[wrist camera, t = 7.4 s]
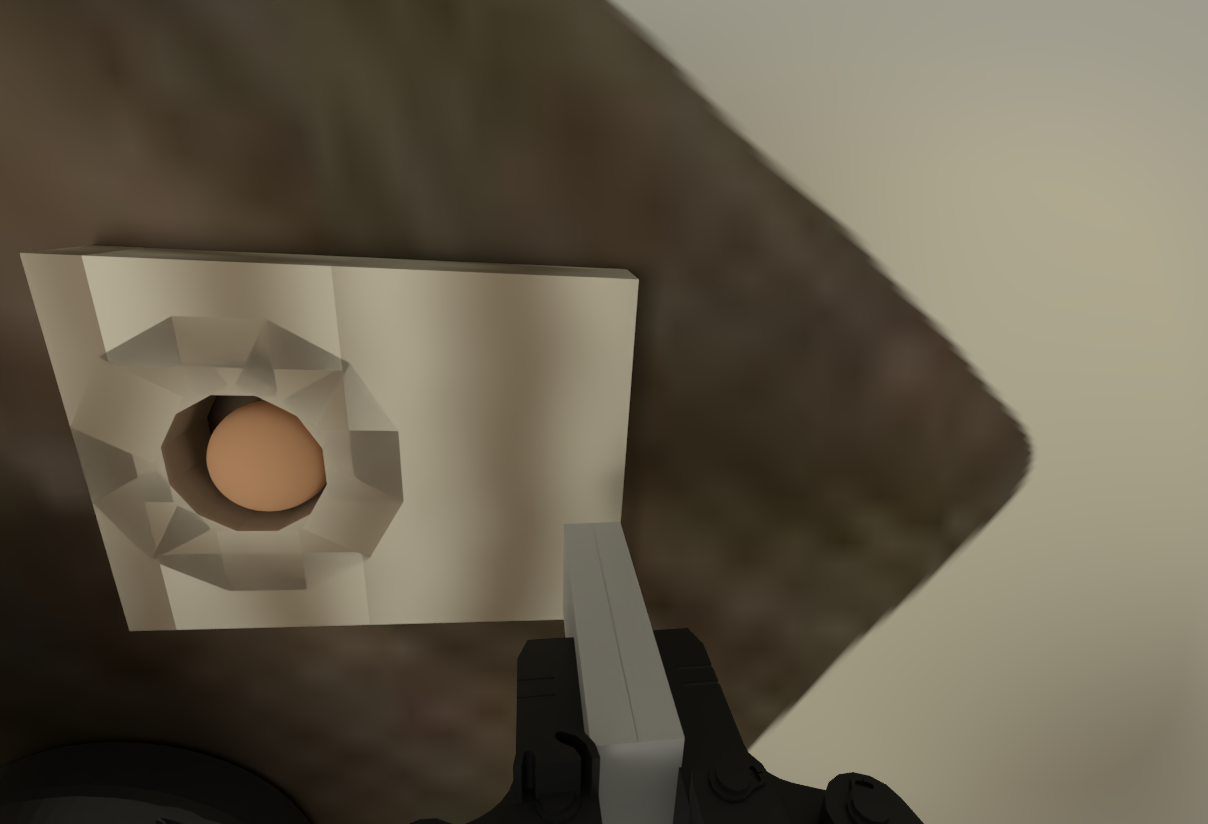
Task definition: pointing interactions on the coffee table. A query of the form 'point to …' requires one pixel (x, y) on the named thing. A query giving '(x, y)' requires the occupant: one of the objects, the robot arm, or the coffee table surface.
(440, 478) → the block
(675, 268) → the coffee table surface
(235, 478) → the ball
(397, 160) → the coffee table surface
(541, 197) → the coffee table surface
